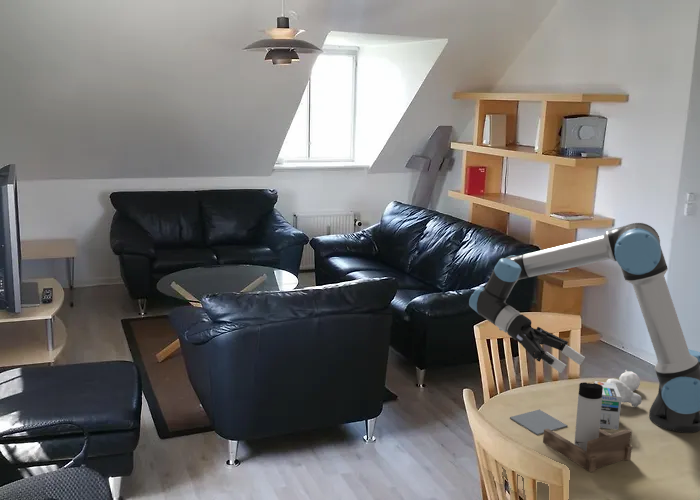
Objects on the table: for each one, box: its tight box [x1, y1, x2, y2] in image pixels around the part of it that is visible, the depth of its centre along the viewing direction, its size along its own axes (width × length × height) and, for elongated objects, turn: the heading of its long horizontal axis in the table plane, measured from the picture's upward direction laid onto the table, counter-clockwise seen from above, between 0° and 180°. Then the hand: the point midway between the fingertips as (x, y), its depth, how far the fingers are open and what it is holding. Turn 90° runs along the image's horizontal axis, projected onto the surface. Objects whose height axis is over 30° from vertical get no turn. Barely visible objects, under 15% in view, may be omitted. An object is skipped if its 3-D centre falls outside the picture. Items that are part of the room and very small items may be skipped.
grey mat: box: [509, 409, 568, 436], centre depth 213 cm, size 12×12×1 cm
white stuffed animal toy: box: [605, 378, 643, 409], centre depth 225 cm, size 6×8×12 cm
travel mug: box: [573, 381, 603, 451], centre depth 194 cm, size 6×7×20 cm
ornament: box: [618, 369, 641, 392], centre depth 236 cm, size 6×7×7 cm
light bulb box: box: [594, 380, 622, 431], centre depth 213 cm, size 11×7×11 cm, turn 168°
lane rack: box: [542, 428, 633, 473], centre depth 195 cm, size 18×15×8 cm
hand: (573, 365), depth 200 cm, fingers open, 13 cm apart
